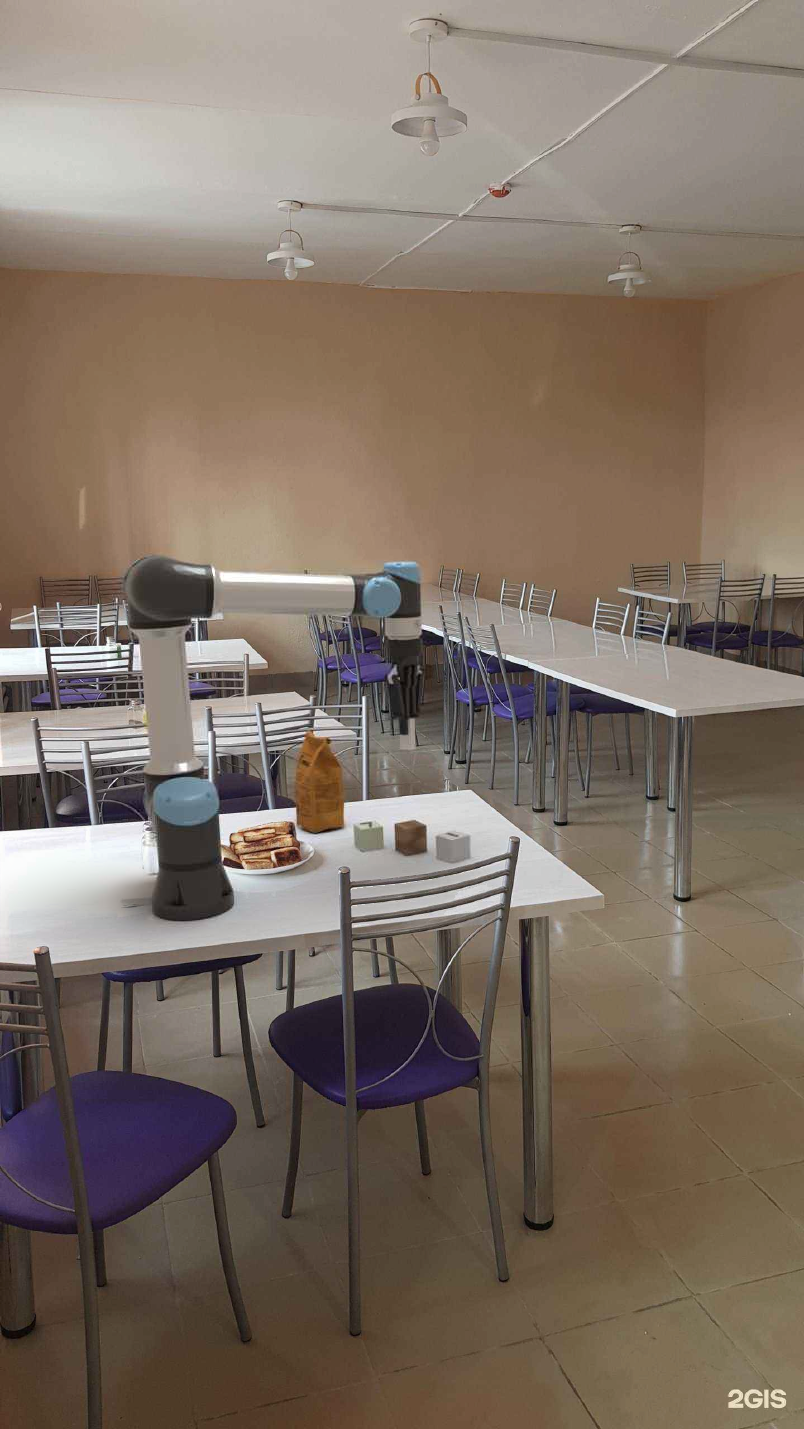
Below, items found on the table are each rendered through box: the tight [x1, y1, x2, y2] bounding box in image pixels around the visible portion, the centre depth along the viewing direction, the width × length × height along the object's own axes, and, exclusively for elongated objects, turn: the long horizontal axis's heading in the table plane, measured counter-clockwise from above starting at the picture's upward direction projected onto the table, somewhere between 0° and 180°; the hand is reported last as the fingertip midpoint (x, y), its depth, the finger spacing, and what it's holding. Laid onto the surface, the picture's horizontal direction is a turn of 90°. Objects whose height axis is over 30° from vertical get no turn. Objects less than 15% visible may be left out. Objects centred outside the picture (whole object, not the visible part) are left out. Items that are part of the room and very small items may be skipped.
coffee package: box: [294, 730, 345, 834], centre depth 246 cm, size 10×12×22 cm
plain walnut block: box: [394, 819, 428, 857], centre depth 226 cm, size 5×5×6 cm
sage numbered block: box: [353, 820, 385, 853], centre depth 231 cm, size 5×5×5 cm
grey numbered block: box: [435, 829, 471, 864], centre depth 221 cm, size 5×5×5 cm
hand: (407, 748), depth 223 cm, fingers closed
